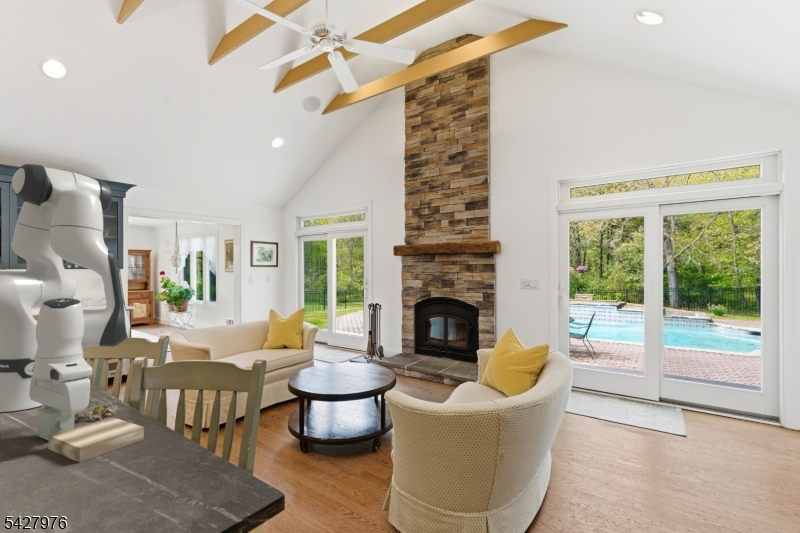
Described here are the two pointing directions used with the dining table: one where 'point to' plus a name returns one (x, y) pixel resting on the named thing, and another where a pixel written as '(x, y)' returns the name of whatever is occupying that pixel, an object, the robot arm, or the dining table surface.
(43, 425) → the sage block
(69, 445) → the birch plinth
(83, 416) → the mineral rock
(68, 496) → the dining table surface
